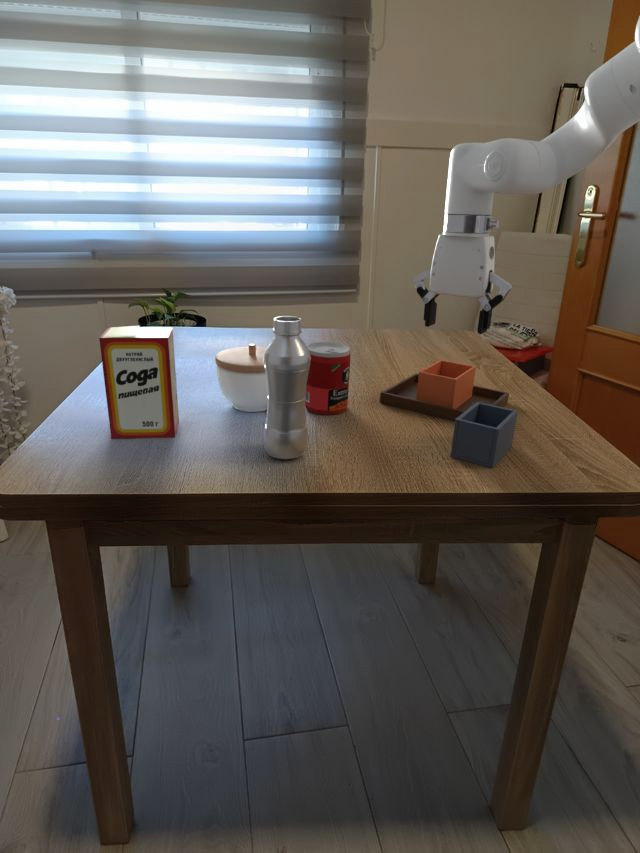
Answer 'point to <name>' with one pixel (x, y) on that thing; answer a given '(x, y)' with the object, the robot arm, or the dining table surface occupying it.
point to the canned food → (328, 378)
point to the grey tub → (483, 434)
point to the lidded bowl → (243, 377)
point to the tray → (406, 398)
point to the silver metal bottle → (286, 390)
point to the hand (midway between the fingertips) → (455, 328)
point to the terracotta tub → (446, 383)
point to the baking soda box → (140, 381)
